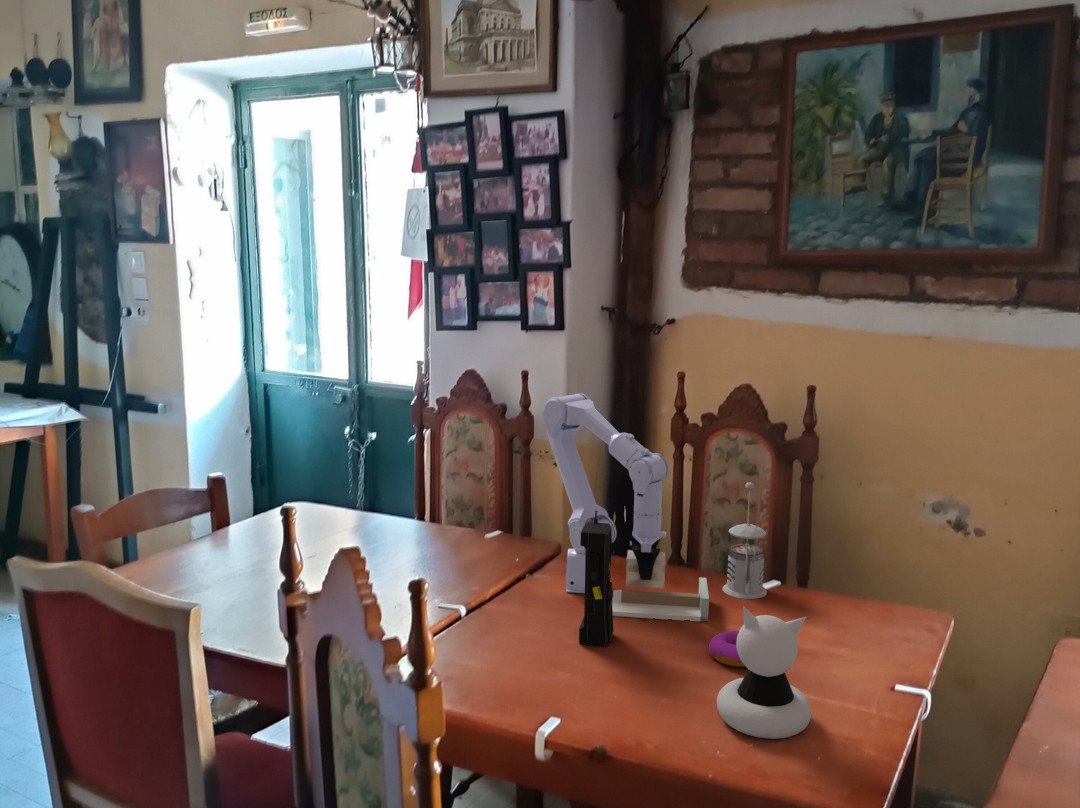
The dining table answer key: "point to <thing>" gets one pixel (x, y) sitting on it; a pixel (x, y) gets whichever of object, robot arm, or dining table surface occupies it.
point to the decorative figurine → (765, 681)
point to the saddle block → (634, 576)
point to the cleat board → (662, 604)
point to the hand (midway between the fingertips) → (645, 574)
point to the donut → (726, 649)
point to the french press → (746, 562)
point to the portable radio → (597, 584)
